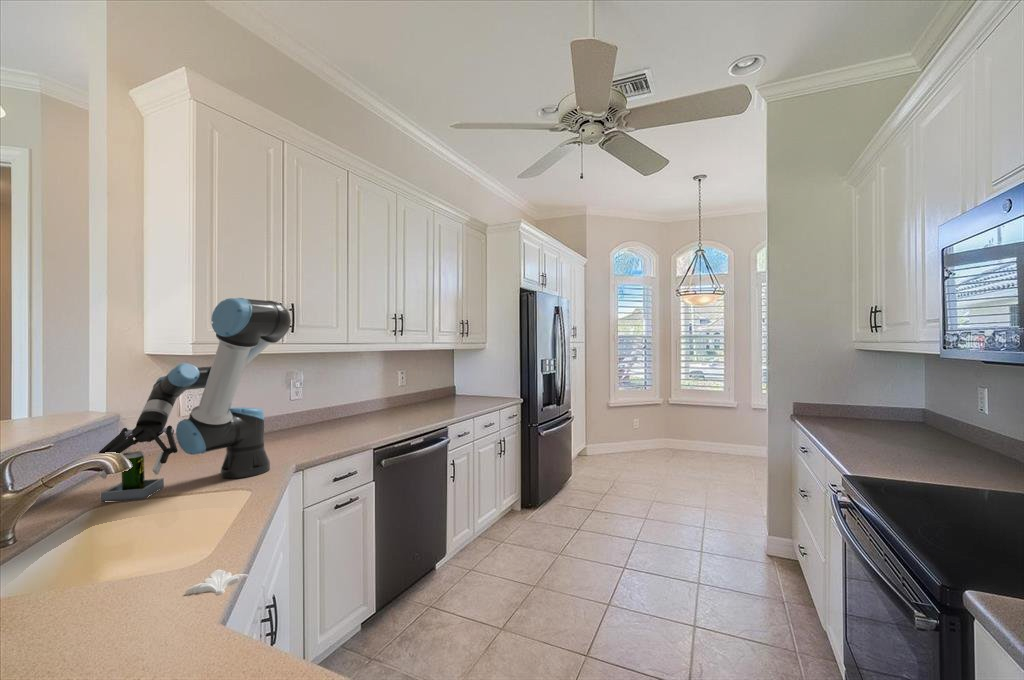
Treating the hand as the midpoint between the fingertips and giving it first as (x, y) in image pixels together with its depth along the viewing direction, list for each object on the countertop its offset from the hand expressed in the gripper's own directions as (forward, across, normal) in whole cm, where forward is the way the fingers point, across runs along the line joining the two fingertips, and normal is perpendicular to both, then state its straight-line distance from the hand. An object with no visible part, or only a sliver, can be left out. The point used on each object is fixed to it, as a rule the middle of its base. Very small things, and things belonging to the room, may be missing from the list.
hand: (129, 474), depth 135 cm
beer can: (+3, 0, -6) cm, 7 cm away
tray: (+3, 0, -7) cm, 7 cm away
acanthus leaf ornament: (+50, -46, +39) cm, 78 cm away
